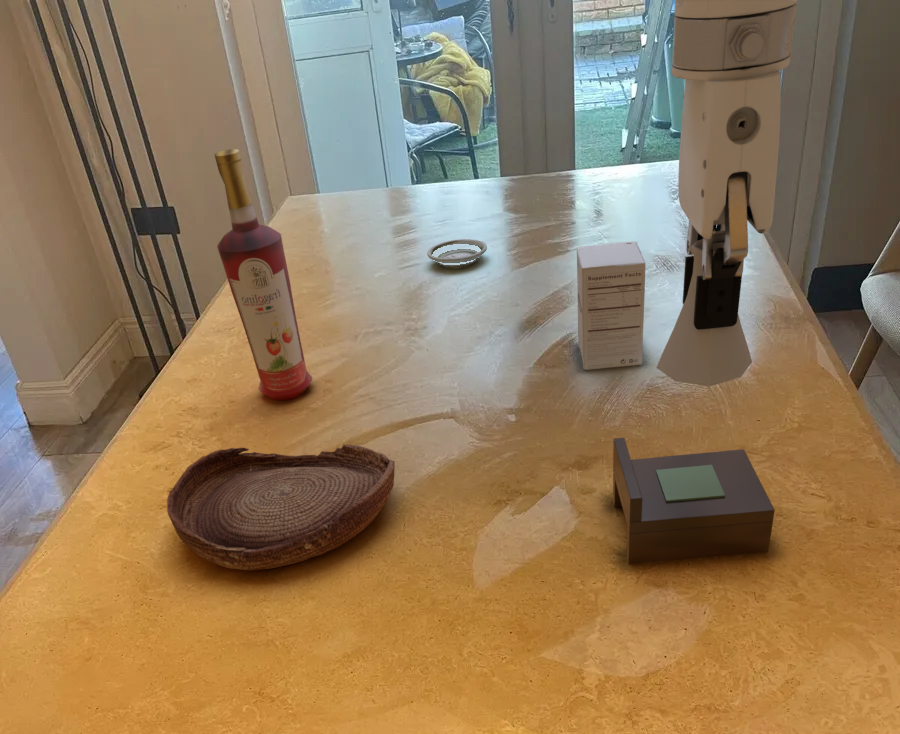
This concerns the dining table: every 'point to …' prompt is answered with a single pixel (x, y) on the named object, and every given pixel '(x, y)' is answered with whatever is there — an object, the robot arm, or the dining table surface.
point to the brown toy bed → (690, 505)
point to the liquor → (261, 288)
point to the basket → (277, 504)
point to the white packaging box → (610, 304)
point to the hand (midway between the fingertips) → (708, 313)
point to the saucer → (458, 253)
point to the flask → (703, 342)
